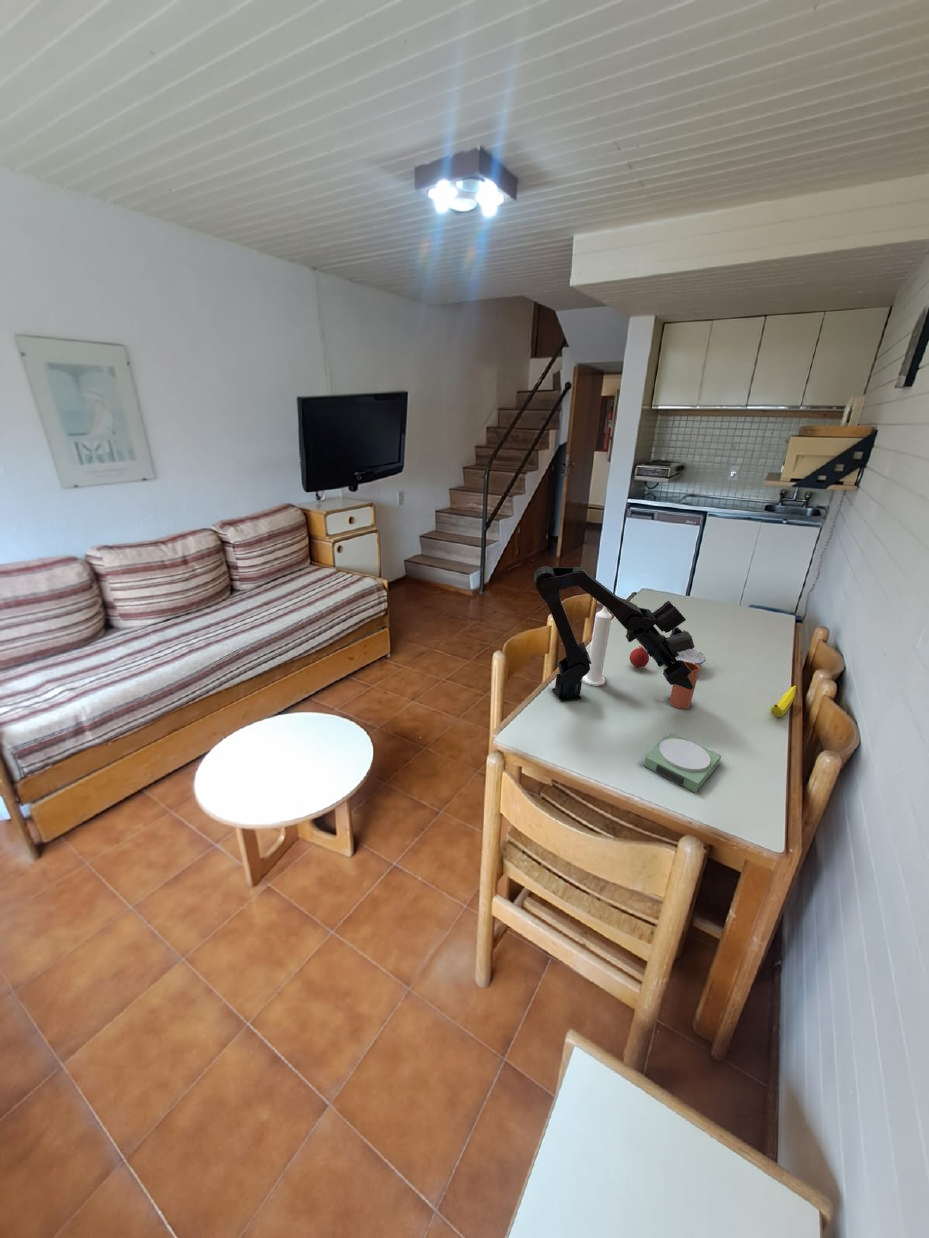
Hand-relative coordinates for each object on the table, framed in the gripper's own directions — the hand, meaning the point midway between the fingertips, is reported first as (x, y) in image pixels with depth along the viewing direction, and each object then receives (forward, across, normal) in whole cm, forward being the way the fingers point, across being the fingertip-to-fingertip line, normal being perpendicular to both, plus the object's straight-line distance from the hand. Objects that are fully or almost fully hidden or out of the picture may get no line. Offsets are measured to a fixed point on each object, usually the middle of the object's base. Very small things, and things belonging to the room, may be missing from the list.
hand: (686, 679), depth 137 cm
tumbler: (+5, 0, +6) cm, 8 cm away
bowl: (+11, +23, 0) cm, 25 cm away
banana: (+25, -1, -13) cm, 28 cm away
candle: (-11, +10, +22) cm, 26 cm away
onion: (0, +20, +11) cm, 22 cm away
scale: (0, -27, +11) cm, 30 cm away
